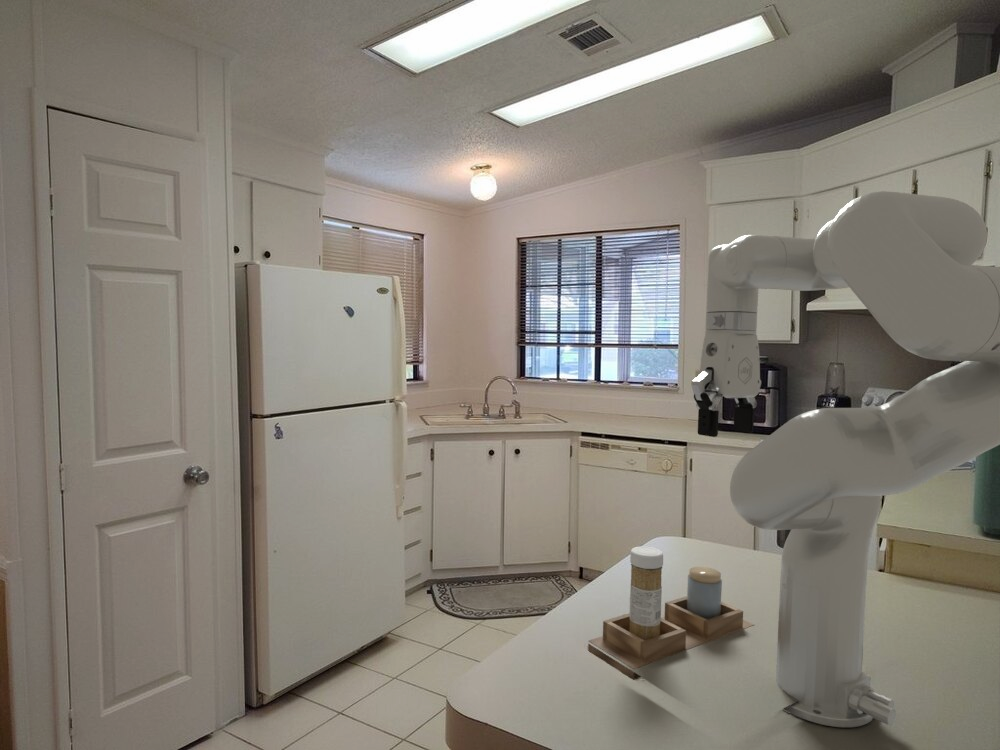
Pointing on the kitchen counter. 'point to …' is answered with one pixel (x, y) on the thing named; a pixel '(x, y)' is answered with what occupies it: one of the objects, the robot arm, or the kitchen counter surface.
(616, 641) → the spice rail
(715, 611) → the spice pot
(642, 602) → the sprinkles bottle
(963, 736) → the kitchen counter surface
